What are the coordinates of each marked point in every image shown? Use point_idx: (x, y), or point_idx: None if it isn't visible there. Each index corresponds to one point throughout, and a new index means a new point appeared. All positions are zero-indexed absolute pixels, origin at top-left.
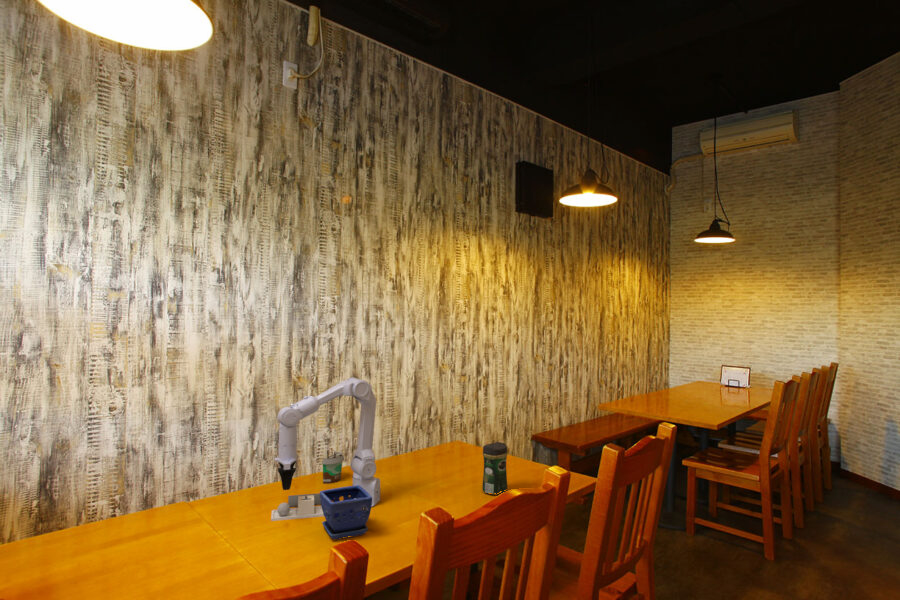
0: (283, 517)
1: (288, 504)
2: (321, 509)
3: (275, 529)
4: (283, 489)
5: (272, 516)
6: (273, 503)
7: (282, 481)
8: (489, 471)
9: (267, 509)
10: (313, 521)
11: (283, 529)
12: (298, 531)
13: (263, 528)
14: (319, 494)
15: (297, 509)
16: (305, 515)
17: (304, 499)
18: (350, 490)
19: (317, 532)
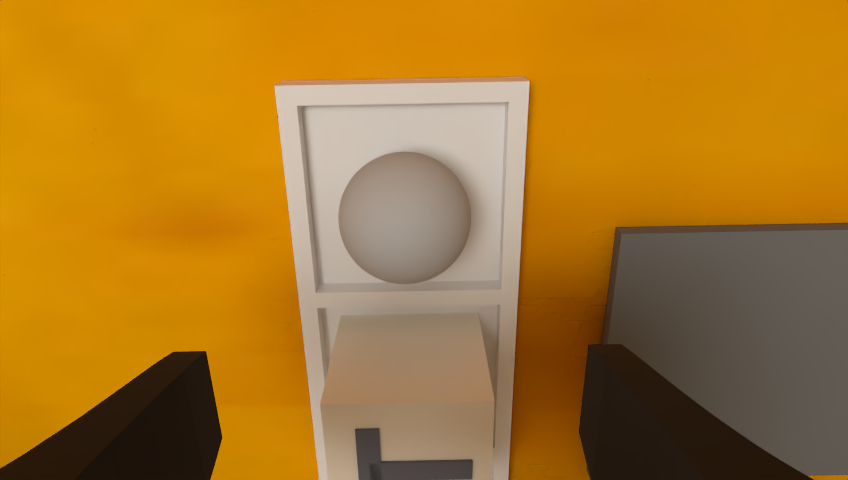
0: (288, 205)
1: (403, 281)
2: None
3: (85, 132)
4: (164, 362)
5: (335, 96)
6: (823, 78)
7: (40, 457)
8: None
9: (658, 22)
10: (245, 414)
11: (84, 201)
12: (40, 315)
13: (113, 13)
14: (827, 473)
15: (499, 314)
16: (308, 379)
17: (360, 457)
18: None
19: (23, 435)
